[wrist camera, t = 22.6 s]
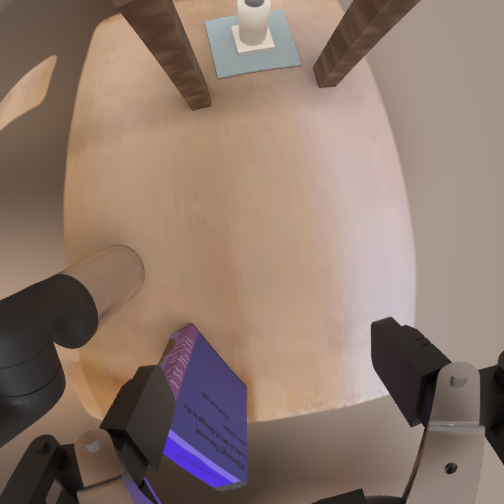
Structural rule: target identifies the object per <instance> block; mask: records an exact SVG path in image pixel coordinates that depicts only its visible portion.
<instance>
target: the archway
mask: <svg viewBox="0 0 504 504" xmlns="http://www.w3.org/2000/svg"><path fill="white" fill-rule="evenodd" d="M111 1H112V2H113V3H114V5H115V6H116V7H117V9H118V10H119V11H120V12H121V14H122V15H123V16H124V18H125V19H126V20H127V21H128V23H129V24H130V25H131V27H132V28H133V29H134V30H135V32H136V33H137V34H138V36H139V37H140V38H141V40H142V41H143V42H144V44H145V45H146V46H147V48H148V49H149V50H150V52H151V53H152V54H153V56H154V57H155V58H156V60H157V61H158V62H159V64H160V65H161V67H162V68H163V69H164V71H165V72H166V73H167V75H168V76H169V77H170V79H171V80H172V82H173V83H174V84H175V86H176V87H177V89H178V90H179V91H180V93H181V94H182V96H183V97H184V98H185V100H186V101H187V103H188V104H189V105H190V107H191V108H192V110H197V109H201V108H205V107H209V106H211V102H210V98H209V93H208V89H207V84H206V82H205V79H204V77H203V74H202V72H201V69H200V67H199V64H198V62H197V59H196V57H195V55H194V52H193V50H192V47H191V45H190V42H189V40H188V37H187V35H186V33H185V30H184V28H183V25H182V23H181V20H180V18H179V16H178V13H177V11H176V9H175V6H174V4H173V1H172V0H111ZM419 1H421V0H353V2H352V3H351V5H350V7H349V8H348V10H347V12H346V13H345V15H344V16H343V18H342V20H341V21H340V23H339V25H338V26H337V28H336V29H335V31H334V33H333V34H332V36H331V38H330V40H329V41H328V43H327V45H326V46H325V48H324V50H323V51H322V53H321V55H320V57H319V58H318V60H317V62H316V63H315V65H314V67H313V69H314V72H315V75H316V79H317V82H318V85H319V88H322V87H336V86H337V85H338V83H339V82H340V81H341V80H342V79H343V78H344V77H345V76H346V75H347V74H348V73H349V72H350V71H351V69H352V68H353V67H354V66H355V65H356V64H357V63H358V62H359V61H360V60H361V59H362V58H363V57H364V56H365V55H366V54H367V53H368V52H369V51H370V50H371V49H372V48H373V47H374V45H375V44H376V43H377V42H378V41H379V40H380V39H381V38H382V37H383V36H384V35H385V34H386V33H387V32H388V31H389V30H390V29H391V28H392V27H393V26H394V25H395V24H396V23H397V22H399V21H400V19H401V18H403V17H404V16H405V15H406V14H407V13H408V12H409V11H410V10H411V9H412V8H413V7H414V6H415V5H416V4H417V3H418V2H419Z"/></svg>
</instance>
